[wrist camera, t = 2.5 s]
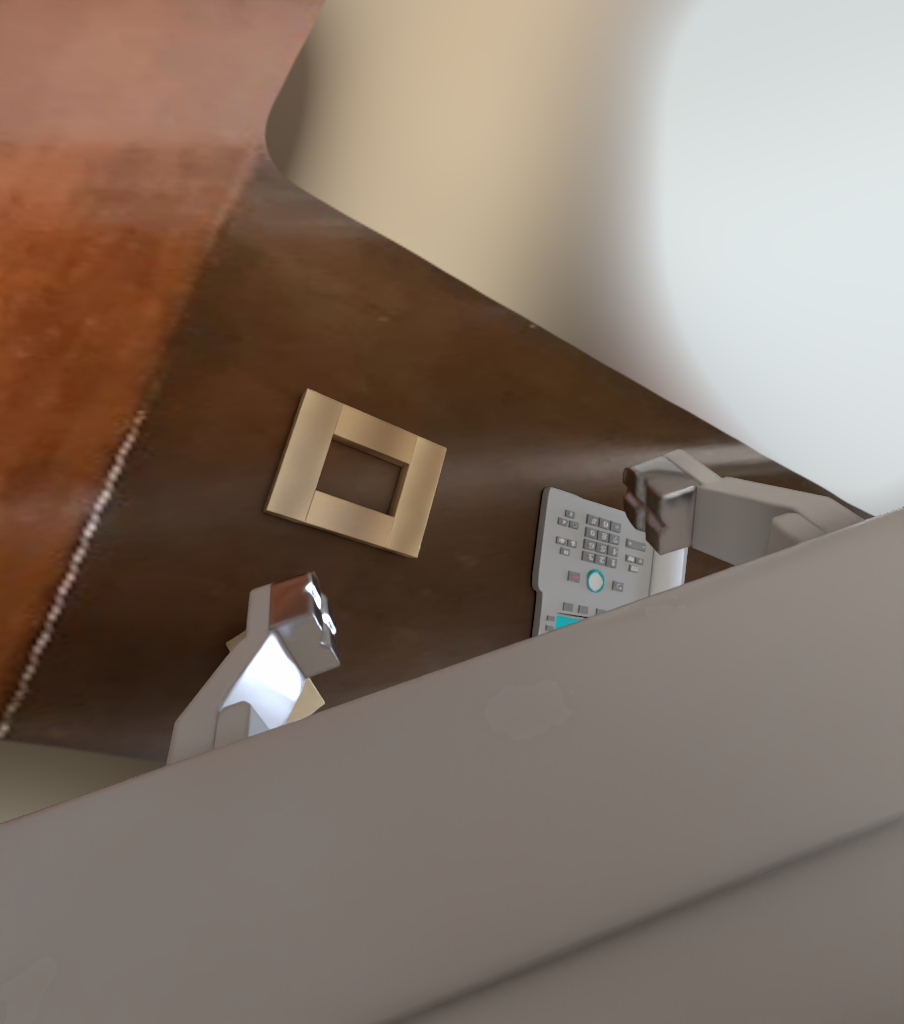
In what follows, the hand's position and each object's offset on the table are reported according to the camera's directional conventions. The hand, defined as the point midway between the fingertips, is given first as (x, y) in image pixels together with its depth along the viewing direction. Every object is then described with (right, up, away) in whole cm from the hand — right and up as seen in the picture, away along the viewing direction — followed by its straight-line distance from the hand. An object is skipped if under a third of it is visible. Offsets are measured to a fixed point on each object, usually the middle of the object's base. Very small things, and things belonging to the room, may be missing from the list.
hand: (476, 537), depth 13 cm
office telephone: (+18, -9, +49) cm, 53 cm away
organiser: (-9, +4, +35) cm, 37 cm away
